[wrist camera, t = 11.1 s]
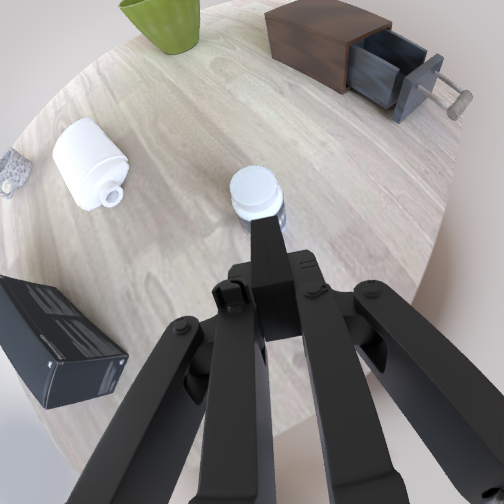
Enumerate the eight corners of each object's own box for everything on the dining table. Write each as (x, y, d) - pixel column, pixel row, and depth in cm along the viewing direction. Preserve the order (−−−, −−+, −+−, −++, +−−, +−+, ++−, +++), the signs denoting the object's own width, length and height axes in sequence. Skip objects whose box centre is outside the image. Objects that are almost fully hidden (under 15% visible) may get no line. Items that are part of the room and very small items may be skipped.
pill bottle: (265, 251, 30) (251, 221, 22) (235, 223, 32) (213, 187, 24) (295, 220, 30) (292, 181, 22) (265, 194, 32) (253, 152, 24)
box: (42, 323, 33) (-19, 313, 22) (56, 286, 34) (-6, 267, 23) (112, 397, 28) (42, 411, 17) (131, 355, 29) (58, 358, 18)
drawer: (462, 118, 29) (481, 84, 22) (435, 154, 29) (457, 116, 21) (363, 52, 36) (366, 16, 28) (322, 76, 35) (322, 35, 28)
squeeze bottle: (98, 126, 42) (83, 110, 37) (147, 179, 36) (128, 160, 31) (62, 163, 41) (46, 150, 36) (100, 229, 35) (77, 216, 30)
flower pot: (188, 25, 48) (167, -26, 33) (231, 33, 44) (212, -29, 28) (138, 59, 47) (107, 8, 32) (174, 71, 42) (141, 6, 27)
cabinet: (384, 66, 35) (392, 21, 26) (342, 94, 34) (346, 43, 25) (318, 34, 40) (317, -7, 31) (272, 58, 39) (263, 13, 30)
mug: (21, 164, 45) (3, 151, 39) (35, 159, 44) (16, 144, 38) (7, 204, 43) (-14, 192, 36) (20, 201, 42) (-2, 188, 35)
